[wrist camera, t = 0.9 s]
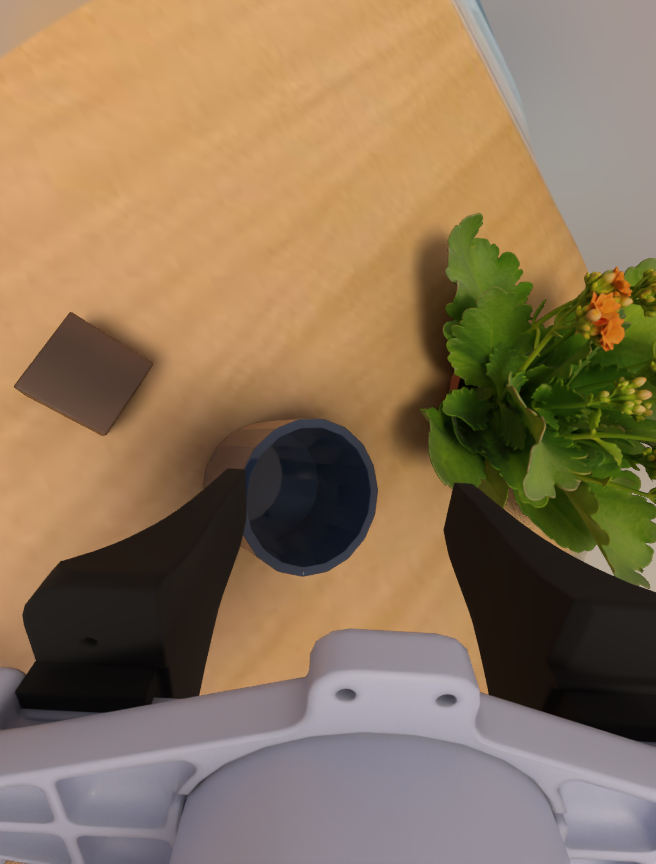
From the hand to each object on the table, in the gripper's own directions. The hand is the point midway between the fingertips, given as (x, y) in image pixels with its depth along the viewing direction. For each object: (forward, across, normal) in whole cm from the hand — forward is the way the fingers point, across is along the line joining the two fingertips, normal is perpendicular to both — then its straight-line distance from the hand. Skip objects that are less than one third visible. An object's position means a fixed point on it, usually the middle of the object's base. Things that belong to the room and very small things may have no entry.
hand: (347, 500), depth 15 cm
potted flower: (+24, -14, +6) cm, 29 cm away
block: (+10, +14, 0) cm, 17 cm away
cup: (+12, +4, +8) cm, 15 cm away
